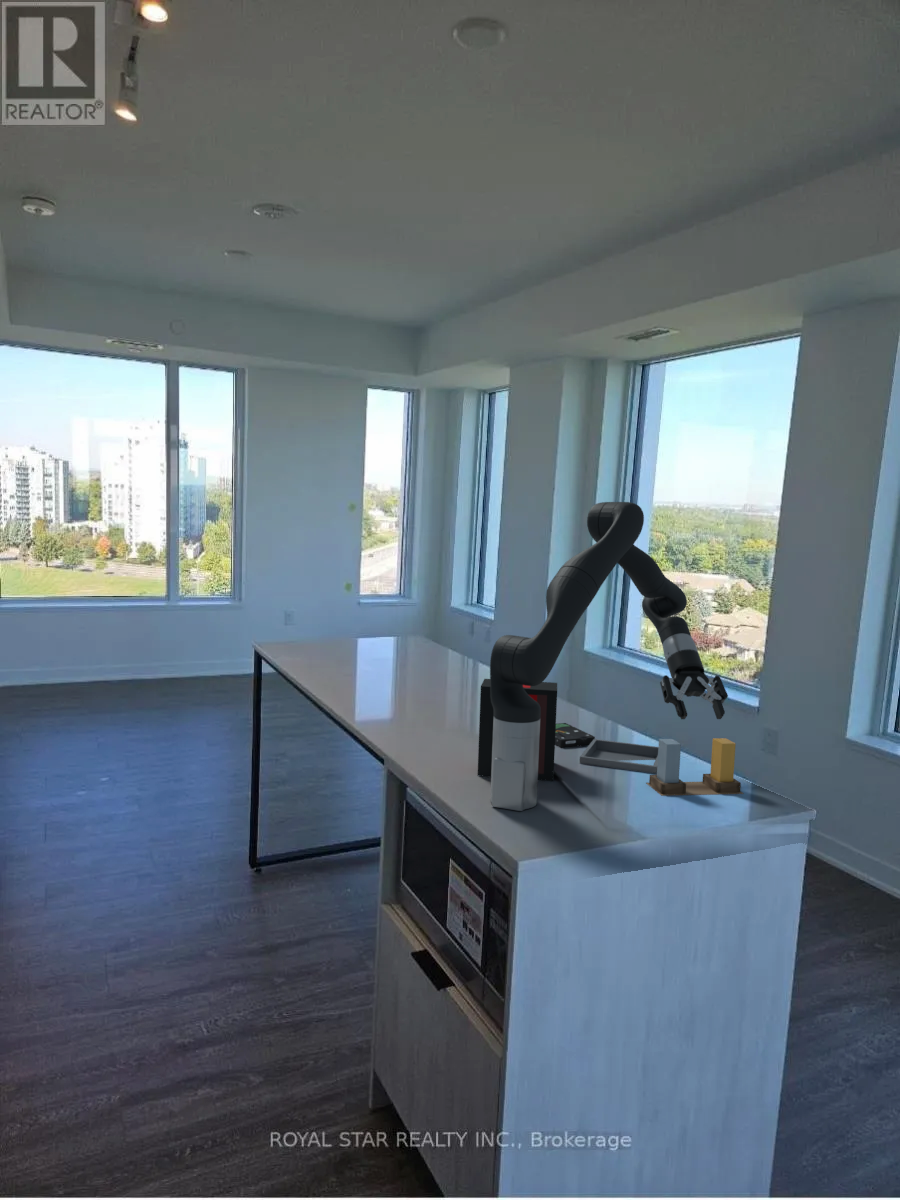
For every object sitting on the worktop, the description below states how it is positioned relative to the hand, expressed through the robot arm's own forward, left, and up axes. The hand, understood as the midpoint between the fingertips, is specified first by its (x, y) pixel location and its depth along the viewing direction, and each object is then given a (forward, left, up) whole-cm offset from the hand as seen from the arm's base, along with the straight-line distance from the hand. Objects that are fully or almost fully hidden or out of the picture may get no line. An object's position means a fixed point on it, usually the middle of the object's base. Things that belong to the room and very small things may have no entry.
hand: (702, 717), depth 172 cm
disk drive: (+20, +35, -15) cm, 43 cm away
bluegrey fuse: (-14, +6, -13) cm, 20 cm away
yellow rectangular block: (-8, -5, -13) cm, 16 cm away
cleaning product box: (-13, +38, -14) cm, 43 cm away
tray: (+4, +17, -14) cm, 23 cm away
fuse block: (-11, 0, -14) cm, 18 cm away
